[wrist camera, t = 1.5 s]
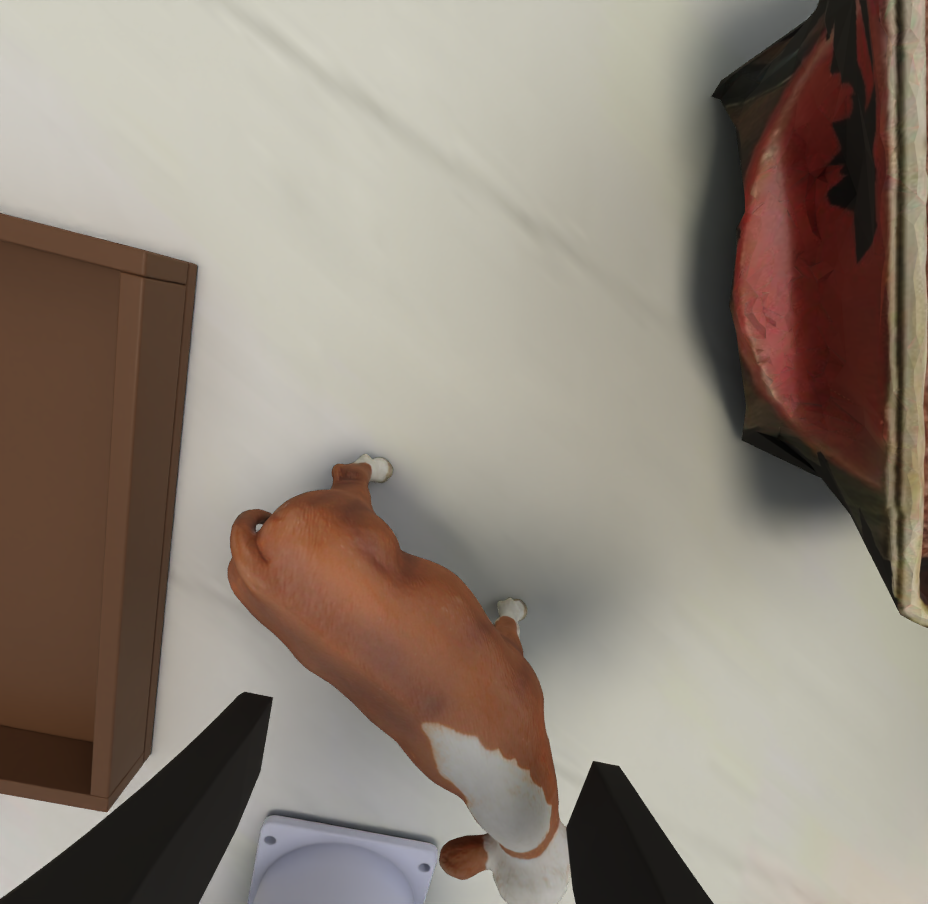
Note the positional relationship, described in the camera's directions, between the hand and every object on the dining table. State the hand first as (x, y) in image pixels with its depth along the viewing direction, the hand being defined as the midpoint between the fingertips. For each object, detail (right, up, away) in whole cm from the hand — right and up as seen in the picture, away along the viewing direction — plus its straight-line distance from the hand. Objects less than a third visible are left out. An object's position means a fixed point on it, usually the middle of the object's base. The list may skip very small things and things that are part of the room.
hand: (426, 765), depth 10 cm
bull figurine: (0, +2, +8) cm, 8 cm away
